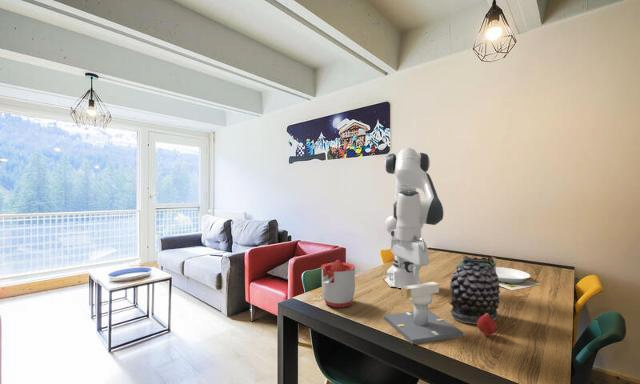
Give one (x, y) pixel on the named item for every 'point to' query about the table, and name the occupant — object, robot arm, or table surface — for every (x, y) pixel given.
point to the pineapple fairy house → (475, 289)
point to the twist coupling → (420, 292)
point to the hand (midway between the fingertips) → (408, 271)
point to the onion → (486, 325)
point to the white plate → (511, 275)
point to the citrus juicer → (338, 283)
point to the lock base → (422, 330)
